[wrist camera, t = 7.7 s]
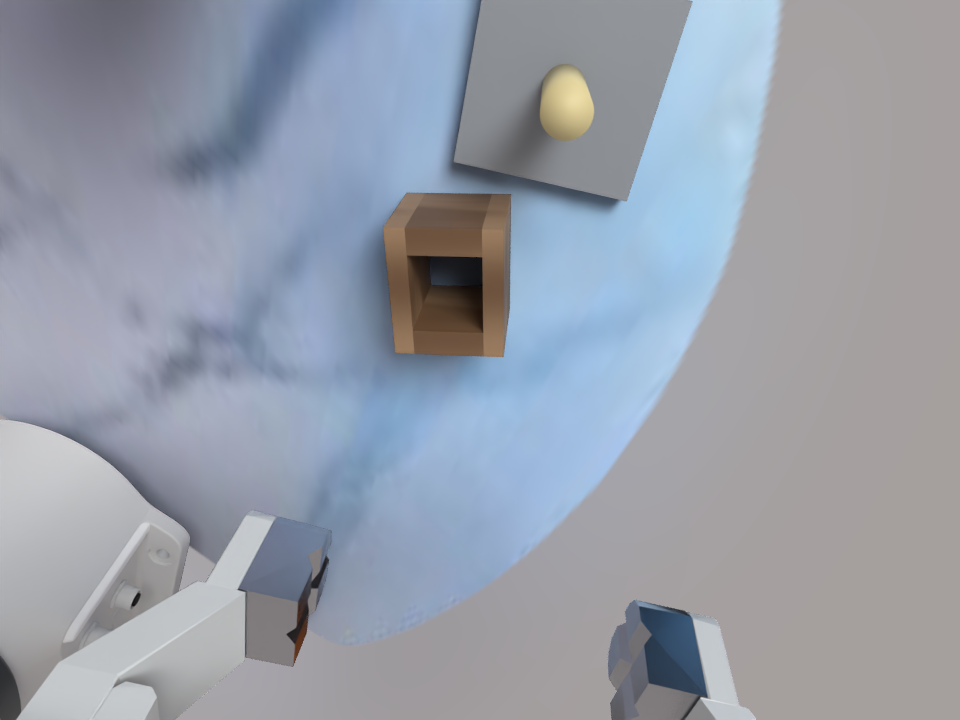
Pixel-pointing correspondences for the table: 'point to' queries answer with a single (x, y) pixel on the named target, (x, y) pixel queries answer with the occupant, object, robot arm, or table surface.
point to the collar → (449, 309)
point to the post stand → (567, 89)
